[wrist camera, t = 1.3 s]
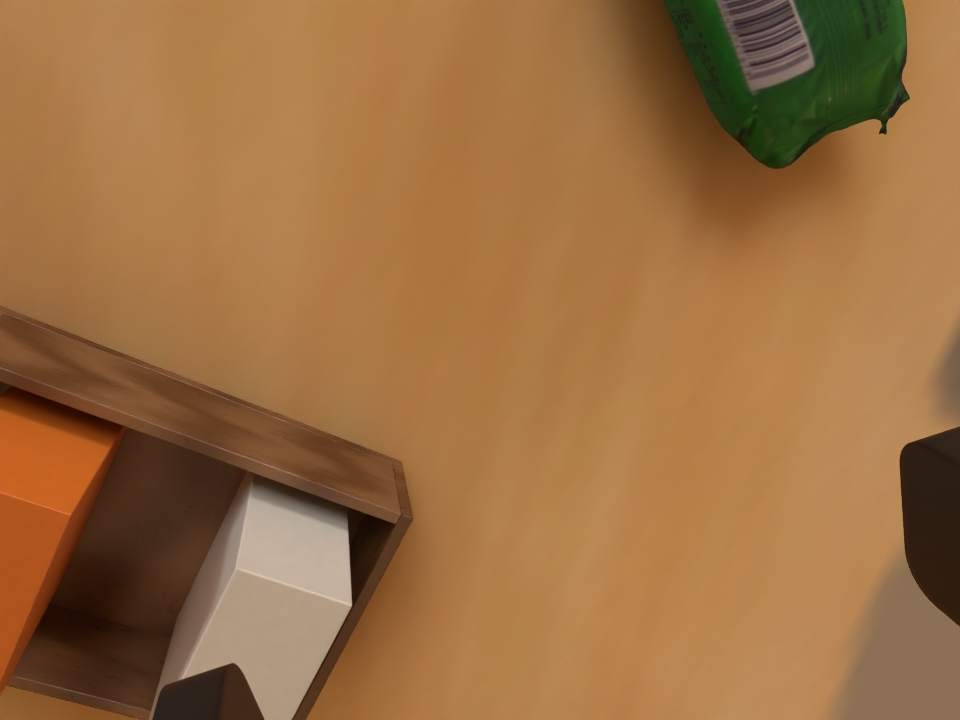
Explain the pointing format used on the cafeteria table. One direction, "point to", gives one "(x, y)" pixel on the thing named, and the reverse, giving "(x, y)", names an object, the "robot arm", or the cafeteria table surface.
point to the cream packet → (267, 595)
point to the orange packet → (43, 505)
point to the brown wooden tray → (174, 512)
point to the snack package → (794, 67)
